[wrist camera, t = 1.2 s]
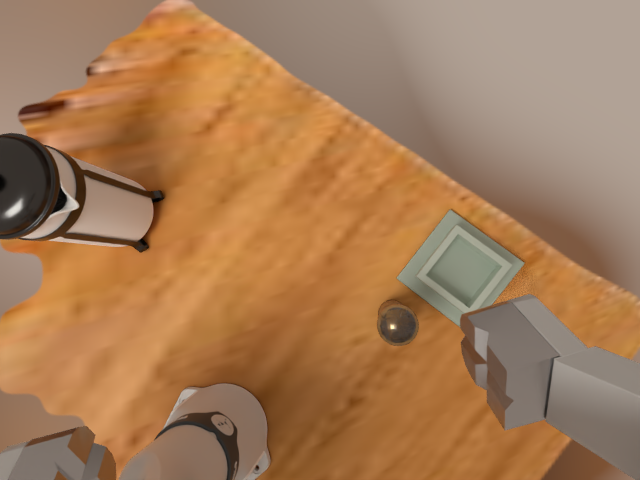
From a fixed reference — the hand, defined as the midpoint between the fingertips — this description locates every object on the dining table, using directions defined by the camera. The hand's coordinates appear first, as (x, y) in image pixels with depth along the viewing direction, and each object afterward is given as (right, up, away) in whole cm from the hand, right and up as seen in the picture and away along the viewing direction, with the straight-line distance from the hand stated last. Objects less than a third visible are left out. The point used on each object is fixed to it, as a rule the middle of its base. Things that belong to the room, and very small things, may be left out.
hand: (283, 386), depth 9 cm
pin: (+12, -9, +57) cm, 59 cm away
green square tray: (+23, -2, +56) cm, 61 cm away
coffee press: (-35, +8, +64) cm, 74 cm away
